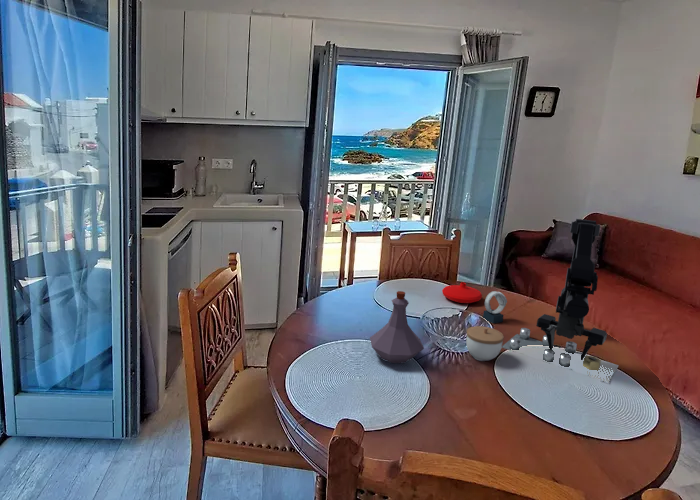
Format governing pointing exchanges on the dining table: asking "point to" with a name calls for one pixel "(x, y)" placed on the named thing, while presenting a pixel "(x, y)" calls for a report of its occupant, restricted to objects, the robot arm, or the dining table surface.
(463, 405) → the dining table surface
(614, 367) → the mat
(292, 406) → the dining table surface
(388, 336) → the flask
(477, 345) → the lidded jar
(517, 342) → the spacers
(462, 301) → the red disc with nozzle
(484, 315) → the grey ring on stand
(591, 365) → the nut
